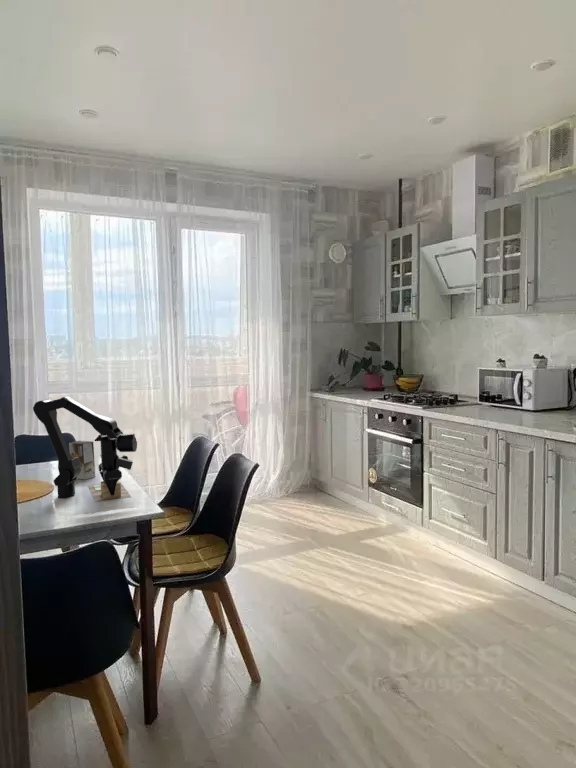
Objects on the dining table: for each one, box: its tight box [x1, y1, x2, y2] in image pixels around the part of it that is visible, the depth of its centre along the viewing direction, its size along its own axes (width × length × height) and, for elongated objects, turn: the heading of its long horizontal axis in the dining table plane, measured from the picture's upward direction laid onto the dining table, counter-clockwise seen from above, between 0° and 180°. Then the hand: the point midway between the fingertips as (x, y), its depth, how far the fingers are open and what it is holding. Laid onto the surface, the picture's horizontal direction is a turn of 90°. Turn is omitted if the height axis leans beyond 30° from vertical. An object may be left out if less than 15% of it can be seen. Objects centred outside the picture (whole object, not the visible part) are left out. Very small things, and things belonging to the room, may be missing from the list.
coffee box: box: [68, 440, 96, 481], centre depth 254 cm, size 9×6×16 cm
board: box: [87, 481, 132, 503], centre depth 224 cm, size 28×13×6 cm, turn 25°
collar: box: [100, 479, 122, 498], centre depth 218 cm, size 6×6×5 cm
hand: (110, 492), depth 218 cm, fingers open, 9 cm apart
